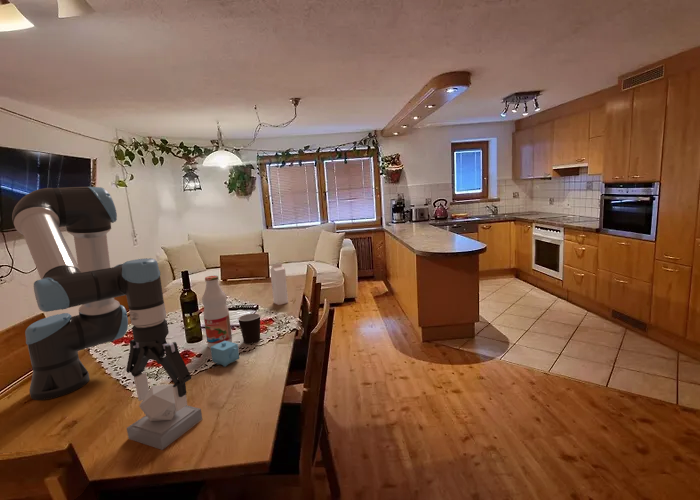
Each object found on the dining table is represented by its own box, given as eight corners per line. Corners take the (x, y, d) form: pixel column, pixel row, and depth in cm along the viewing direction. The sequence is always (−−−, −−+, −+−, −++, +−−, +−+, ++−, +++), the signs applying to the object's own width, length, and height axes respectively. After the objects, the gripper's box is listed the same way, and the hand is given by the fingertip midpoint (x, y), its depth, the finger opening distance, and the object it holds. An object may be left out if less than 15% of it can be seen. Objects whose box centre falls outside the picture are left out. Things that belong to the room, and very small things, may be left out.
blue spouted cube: (246, 362, 125) (243, 342, 123) (231, 370, 120) (229, 349, 119) (224, 356, 131) (222, 336, 130) (210, 363, 126) (207, 343, 125)
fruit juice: (237, 340, 145) (229, 274, 141) (221, 350, 136) (212, 279, 132) (219, 338, 148) (210, 273, 144) (202, 348, 140) (193, 279, 136)
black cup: (259, 344, 140) (257, 320, 138) (238, 345, 140) (235, 321, 138) (266, 333, 151) (264, 310, 150) (246, 334, 151) (244, 311, 150)
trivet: (128, 438, 87) (126, 426, 87) (170, 410, 98) (168, 400, 98) (162, 449, 83) (160, 437, 82) (202, 419, 93) (200, 407, 93)
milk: (273, 303, 195) (269, 263, 192) (283, 300, 198) (279, 262, 195) (278, 305, 190) (274, 265, 187) (288, 302, 194) (284, 263, 190)
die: (156, 435, 84) (179, 395, 86) (125, 416, 85) (149, 377, 87) (174, 425, 92) (195, 389, 94) (145, 408, 93) (167, 373, 95)
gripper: (101, 323, 88) (115, 402, 91) (172, 333, 78) (186, 421, 81) (130, 313, 94) (142, 387, 98) (199, 321, 84) (210, 402, 88)
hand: (162, 402), depth 89 cm, fingers open, 13 cm apart
